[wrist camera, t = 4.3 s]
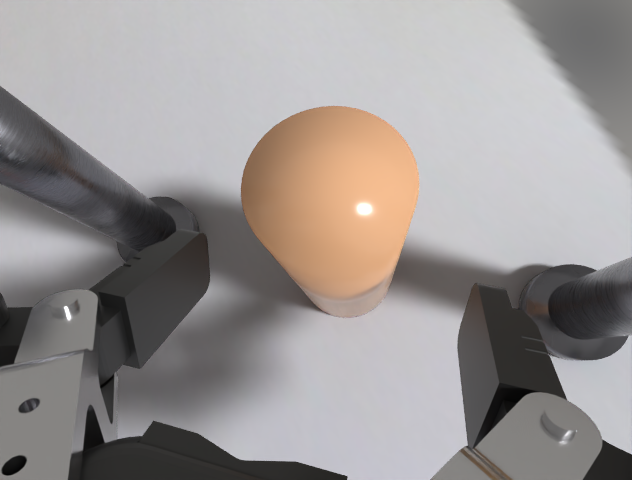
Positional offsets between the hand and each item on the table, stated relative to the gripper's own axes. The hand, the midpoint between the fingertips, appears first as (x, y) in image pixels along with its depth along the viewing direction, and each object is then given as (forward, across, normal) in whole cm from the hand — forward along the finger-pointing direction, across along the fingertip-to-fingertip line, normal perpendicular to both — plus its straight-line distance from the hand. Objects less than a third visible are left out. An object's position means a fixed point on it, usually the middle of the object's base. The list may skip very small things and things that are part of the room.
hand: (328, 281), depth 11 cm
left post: (+6, +10, +4) cm, 13 cm away
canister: (+6, 0, +4) cm, 8 cm away
